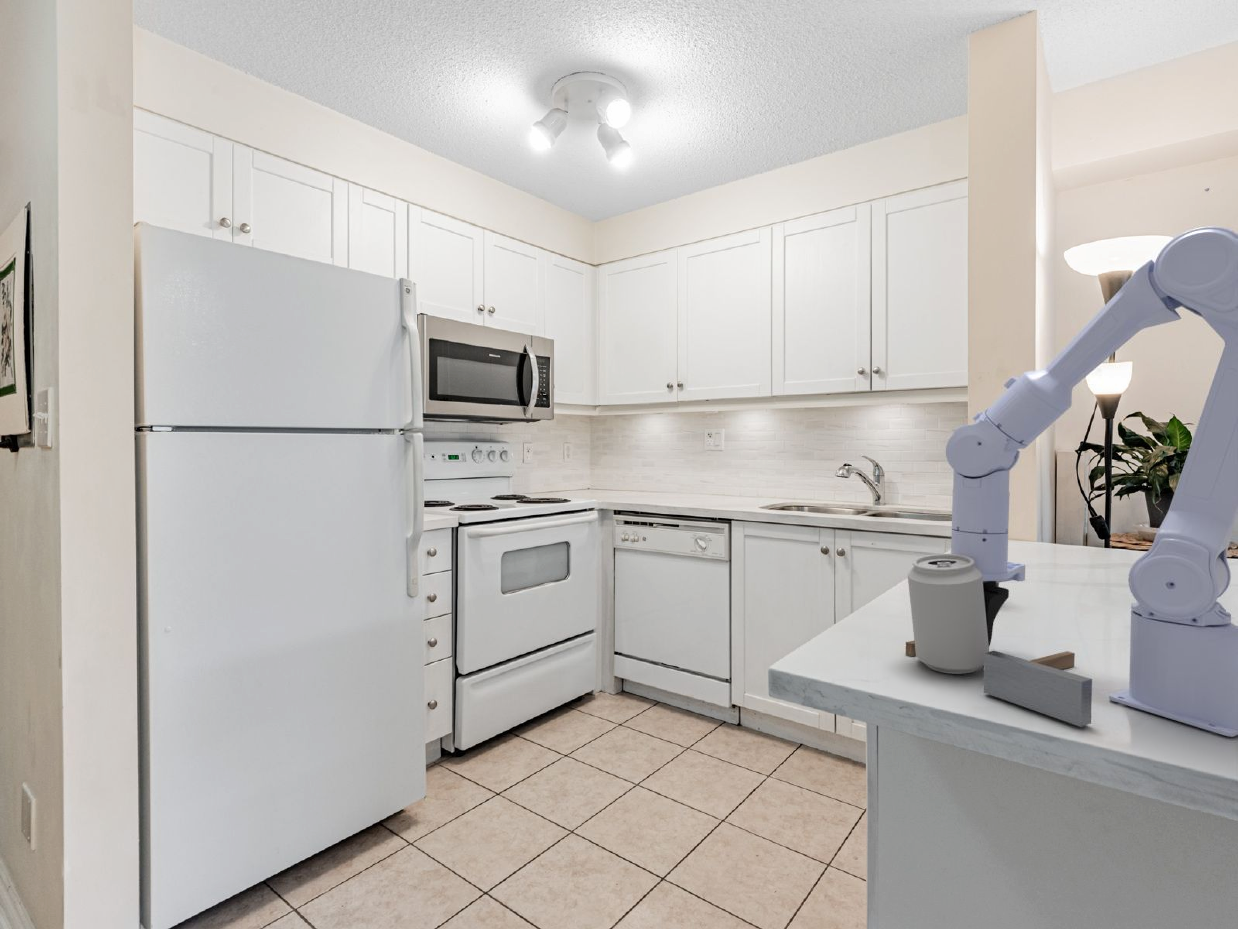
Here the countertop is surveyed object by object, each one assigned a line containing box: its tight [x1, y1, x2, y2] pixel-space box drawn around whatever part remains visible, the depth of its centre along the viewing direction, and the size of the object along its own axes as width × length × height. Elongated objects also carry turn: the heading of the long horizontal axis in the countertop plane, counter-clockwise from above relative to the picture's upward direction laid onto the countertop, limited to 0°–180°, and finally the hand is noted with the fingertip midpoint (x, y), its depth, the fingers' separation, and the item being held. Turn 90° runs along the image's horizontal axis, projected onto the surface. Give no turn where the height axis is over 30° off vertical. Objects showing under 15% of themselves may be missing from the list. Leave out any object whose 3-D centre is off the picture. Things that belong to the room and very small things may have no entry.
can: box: [907, 553, 990, 675], centre depth 73 cm, size 8×8×12 cm
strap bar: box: [983, 650, 1093, 728], centre depth 62 cm, size 9×2×4 cm, turn 27°
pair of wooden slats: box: [905, 640, 1076, 670], centre depth 76 cm, size 12×14×2 cm
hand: (976, 647), depth 76 cm, fingers closed, pressing on can
